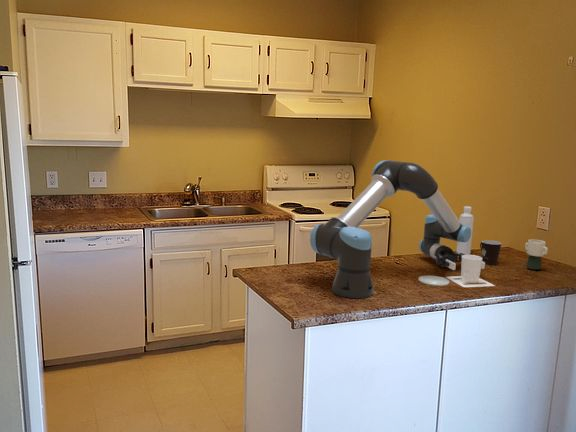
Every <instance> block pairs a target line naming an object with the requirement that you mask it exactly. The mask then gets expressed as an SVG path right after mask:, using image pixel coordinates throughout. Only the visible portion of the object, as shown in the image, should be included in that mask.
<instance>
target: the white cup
mask: <svg viewBox="0 0 576 432" xmlns="http://www.w3.org/2000/svg"><path fill="white" fill-rule="evenodd" d="M460 263H461V265H460V268H461V269H460V276H461V280H462V281H463V282H467V283H478V281H479V278H480V275H481V272H482V271H481V270H482V268H481V265H482V256H479V255H475V254H468V255H462V262H460Z"/></svg>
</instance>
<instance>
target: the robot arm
mask: <svg viewBox="0 0 576 432" xmlns="http://www.w3.org/2000/svg"><path fill="white" fill-rule="evenodd" d="M397 191H405V192H410V193H412V194H414V195H415V197H417V198H418V199H419V200H422V201H423V203H424V204H425V205H426V207H427V209H428V210H429V211H430V213H431V214H427V215H426V216H425V218H424V226H423V228H424V229H423V230H424V231H423V238H422V239H421V240H420V241H419V243H418V249H419V251H420V252H421V253H422V254H423V255H425V256H427V257H430V258H432V259H433V260H434V261H435V263H436V266H440V265H441V268H445V267H447V268H448V269H450V270H452V271H456V266H457V264H456V263H461V262H462V255H465V254H463V253H460V254H458V253H456V252H454V251H453V249H452V248H451V247H449V246H447V245H444V244H443V243H440V242H441V238H442V239H447V240H451V241H455V242H457V241H458V242H467V241H468V240H469V239H470V237H471V228H470V227H469V226H466V225H462V224H461V223H460V221H459V218H458V217H457V215H456V214H455V212H454V211H453V209H452V208H451V206H450V205H449V203H448V202H447V200H446V199H445V197H444V196H443V194H442V192H441V191H440V190H439V184H438V183H437V181H436V180H435V178H434V177H433V176H432V175H431V173H430V172H428V171H427V170H426V169H425V168H424V167H422V166H421V165H419V164H418V163H414V162H408V161H407V162H406V161H401V160H400V161H399V160H392V159H388V160H381V161H379V162H378V163H377V164H375V165H374V167H373V169H372V172H371V178H370V183H369V184H368V185H367V186H366V188H365V189H364V190H363V191H362V192H361V193H359V195H358V196H357V197H356V198H355V199H354V200H353V201H351V203H350V204H349V205H348V206H347V207H345V209H344V210H343V211H342V212H341V213H340V214H339V215H338V216H337V217H336V216H333V217H331V218H330V219H329V220H328V221H326V223H318V224H316V225H315V226H314V227H313V228H312V230H311V232H310V235H309V237H310V238H309V244H310V247H311V249H312V250H313V251H314V252H315V253H317V254H319V255H320V256H325V257H328V258H331V259H334V260H336V261H338V262H337V267H338V268H337V272H336V274H335V277H334V279H333V281H332V285H331V286H332V287H331V291H332V293H333V294H335V295H337V296H340V297H344V298H349V299H351V298H352V299H364V298H368V297H371V296H373V295H374V286H373V285H374V284H373V281H372V276H371V272H370V270H371V259H372V257H371V256H372V247H373V242H372V241H373V240H372V239H373V238H372V234H371V233H370V232H369V231H368V230H365V229H364V228H360V226H361V224H362V223H363V222H365V220H366V219H367V218H369V216H370V215H371V214H372V213H373V212H374V211H375V210H376V209H377V208H378V207H379V206H380V205H381V203H383V201H384V200H385V199H387V198H391V197H394V196H395V194H396V193H397ZM455 262H456V263H455ZM485 267H486V264H485V262H483V261H482V265H481V270H485Z"/></svg>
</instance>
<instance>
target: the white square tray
mask: <svg viewBox="0 0 576 432" xmlns="http://www.w3.org/2000/svg"><path fill="white" fill-rule="evenodd" d="M445 279H448V280H449V281H451V282H453V283H454V284H457V285H458V286H461V287H463V288H481V287H483V288H486V287H487V288H488V287H496V285H495V284H493V283H492V282H491V283H490V282H489V281H487V280H485V279H482V278H480V277H479V281H478V283H467V282H463V281H462V280H461V275H459V276H456V275H455V276H452V275H451V276H445Z"/></svg>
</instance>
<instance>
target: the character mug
mask: <svg viewBox="0 0 576 432" xmlns="http://www.w3.org/2000/svg"><path fill="white" fill-rule="evenodd" d="M524 244H525V245H524V246H525V247H524V250H526V254H527V255H529V256H528V258H527V261H526V264H525V265H526V268H527V269H529V270H536V271H537V270H542V258H541V257H543V256H544V255H545V256H546V255H547V254H548V250H549V248H548V247H547V246H546V241H545V240H541V239H528V241H527V242H525V243H524Z"/></svg>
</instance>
